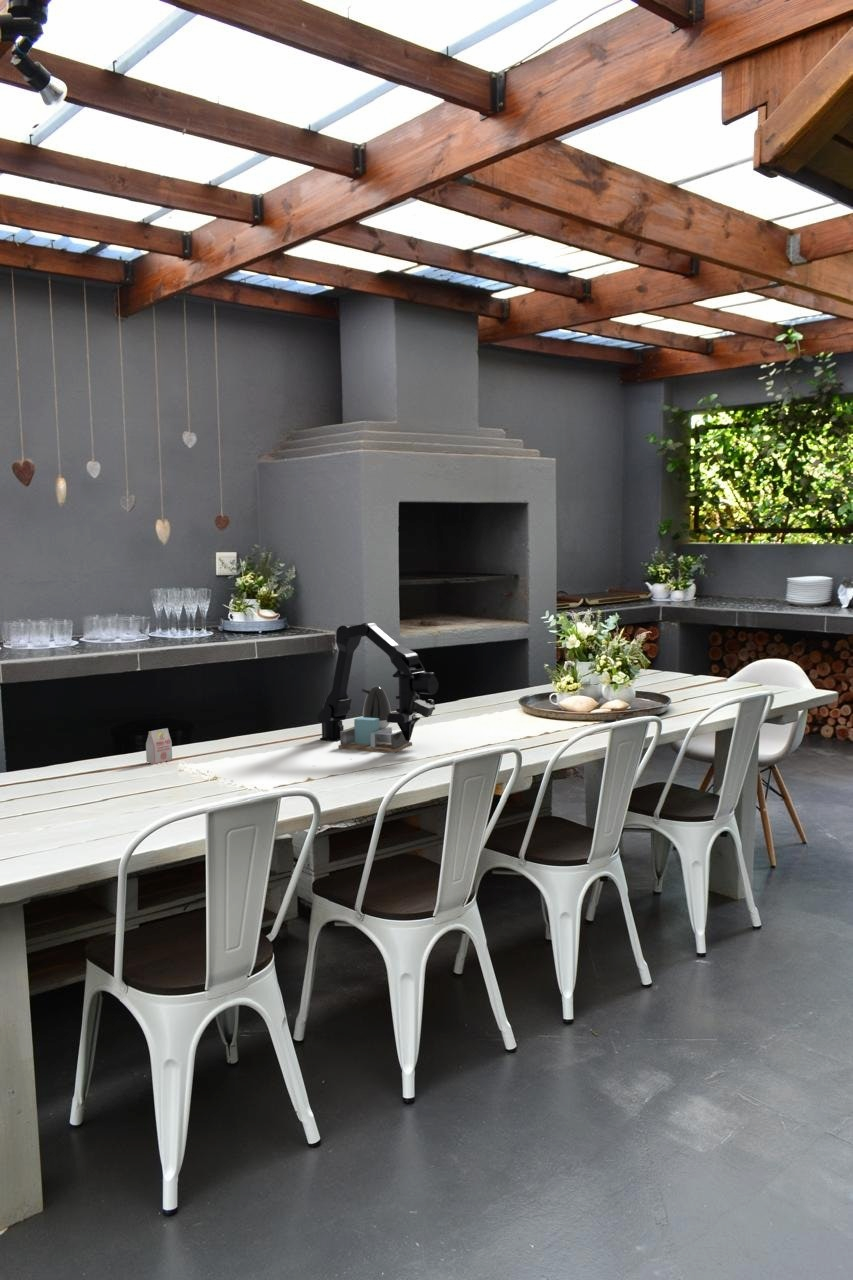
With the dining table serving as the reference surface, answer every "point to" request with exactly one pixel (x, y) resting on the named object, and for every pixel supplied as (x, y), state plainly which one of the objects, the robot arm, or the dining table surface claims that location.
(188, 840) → the dining table surface
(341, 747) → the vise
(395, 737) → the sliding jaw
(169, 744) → the white cardboard carton
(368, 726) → the workpiece block
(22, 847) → the dining table surface
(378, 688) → the pump dispenser
